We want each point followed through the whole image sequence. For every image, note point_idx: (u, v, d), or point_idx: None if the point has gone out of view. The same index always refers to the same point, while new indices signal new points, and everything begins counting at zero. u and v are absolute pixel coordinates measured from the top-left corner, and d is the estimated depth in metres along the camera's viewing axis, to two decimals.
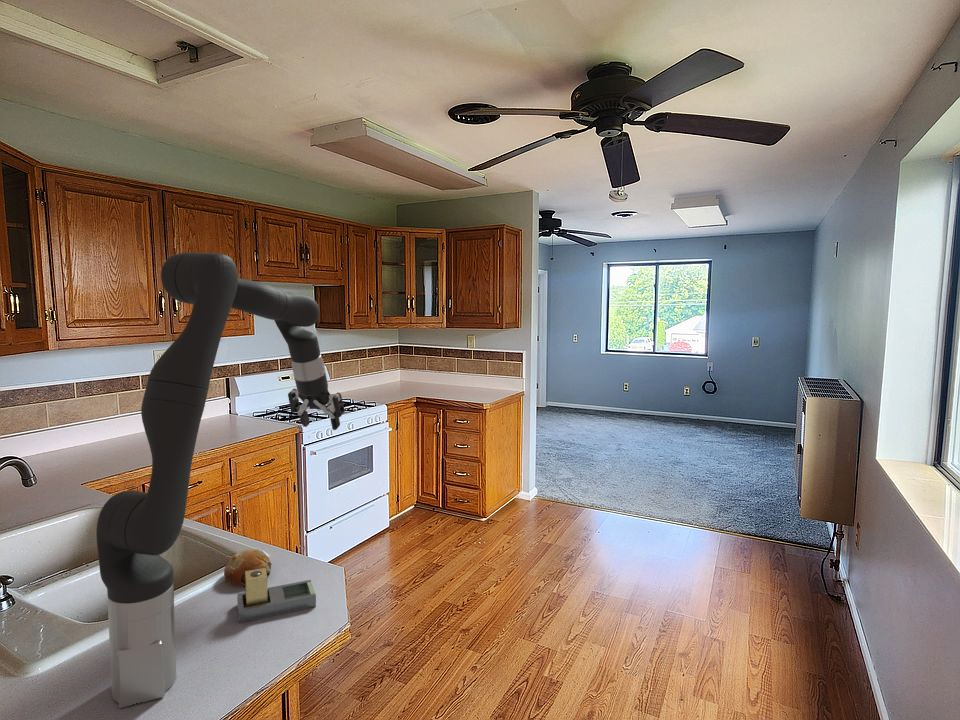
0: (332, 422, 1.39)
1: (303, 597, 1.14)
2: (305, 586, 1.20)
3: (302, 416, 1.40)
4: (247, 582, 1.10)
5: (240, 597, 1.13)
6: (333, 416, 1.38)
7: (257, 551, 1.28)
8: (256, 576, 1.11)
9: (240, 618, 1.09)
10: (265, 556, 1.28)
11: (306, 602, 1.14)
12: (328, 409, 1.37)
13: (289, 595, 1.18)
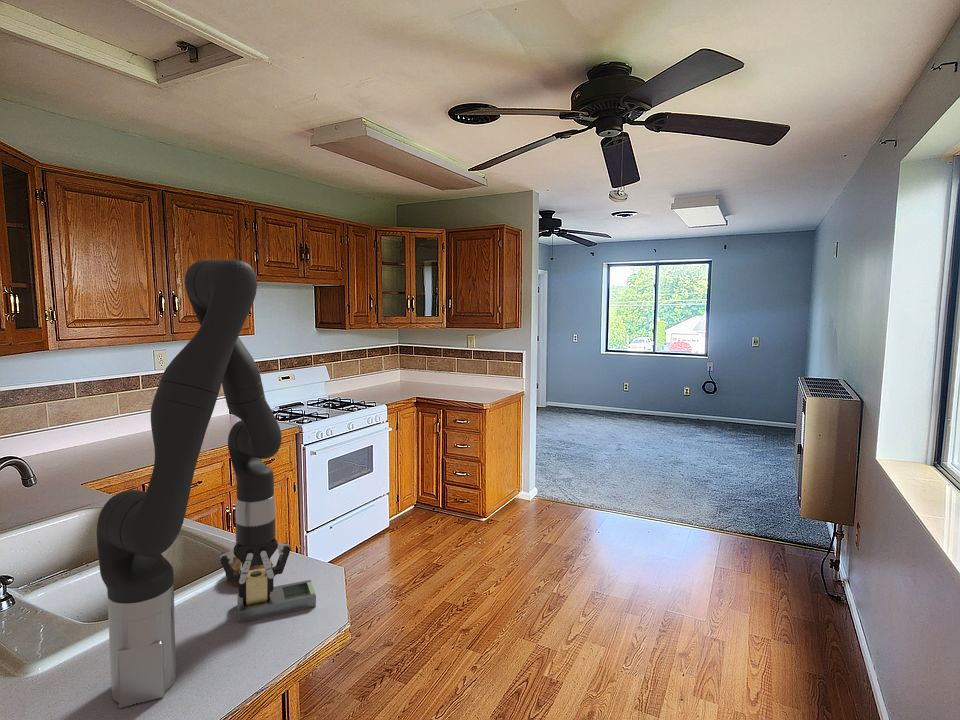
0: (268, 584, 1.13)
1: (303, 597, 1.14)
2: (305, 586, 1.20)
3: (245, 584, 1.11)
4: (247, 582, 1.10)
5: None
6: (272, 575, 1.13)
7: None
8: (256, 576, 1.11)
9: (240, 618, 1.09)
10: None
11: (306, 602, 1.14)
12: (270, 565, 1.12)
13: (289, 595, 1.18)
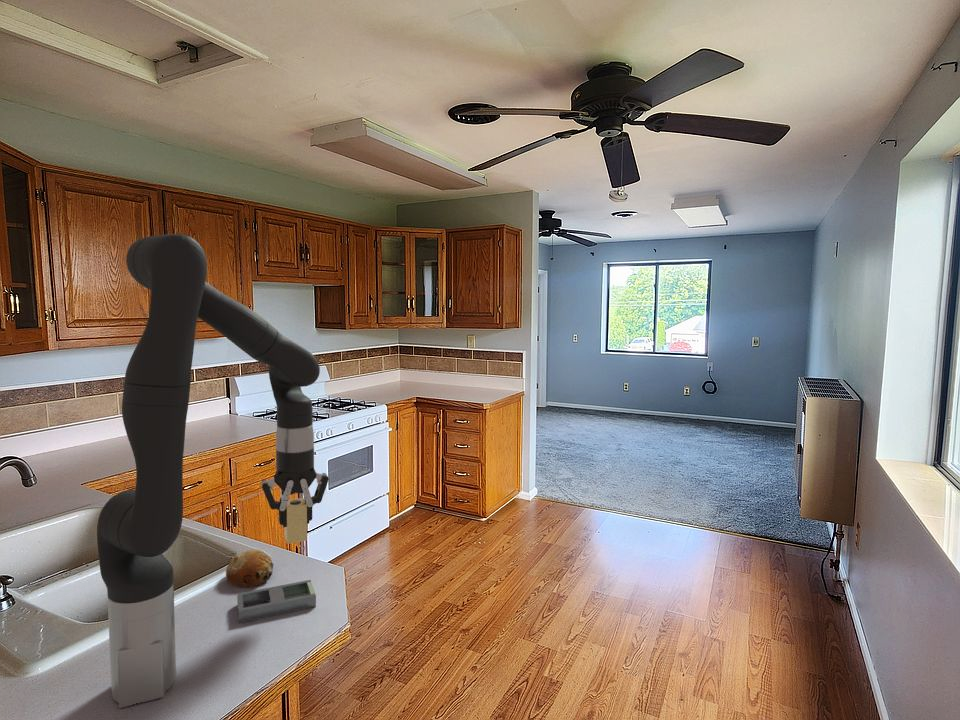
0: (307, 512, 1.15)
1: (303, 597, 1.14)
2: (305, 586, 1.20)
3: (285, 512, 1.13)
4: (287, 509, 1.12)
5: (240, 597, 1.13)
6: (311, 503, 1.15)
7: (259, 552, 1.27)
8: (295, 504, 1.14)
9: (240, 618, 1.09)
10: (267, 557, 1.27)
11: (306, 602, 1.14)
12: None
13: (289, 595, 1.18)
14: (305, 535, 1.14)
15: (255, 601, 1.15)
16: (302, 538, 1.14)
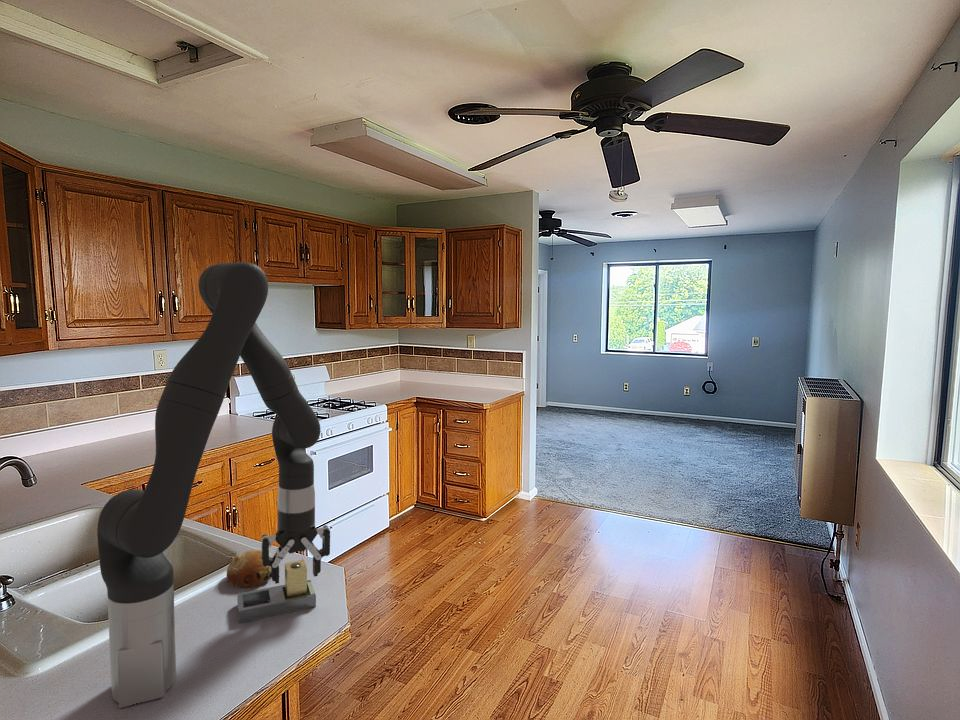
0: (316, 565, 1.17)
1: (303, 597, 1.14)
2: None
3: (277, 568, 1.13)
4: (288, 573, 1.13)
5: (240, 597, 1.13)
6: (319, 556, 1.17)
7: (260, 552, 1.27)
8: (296, 567, 1.15)
9: (240, 618, 1.09)
10: None
11: (306, 602, 1.14)
12: (315, 548, 1.16)
13: None
14: None
15: (255, 601, 1.15)
16: None
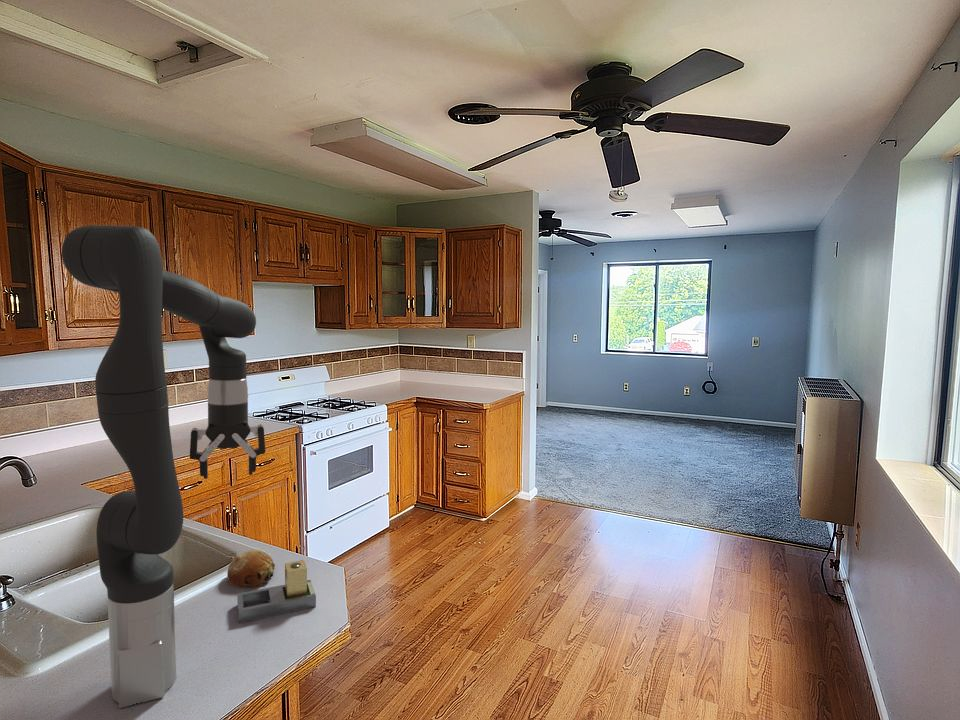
0: (250, 463, 1.14)
1: (303, 597, 1.14)
2: None
3: (205, 463, 1.10)
4: (288, 573, 1.13)
5: (240, 597, 1.13)
6: (254, 454, 1.14)
7: (260, 552, 1.27)
8: (296, 567, 1.15)
9: (240, 618, 1.09)
10: (268, 557, 1.27)
11: (306, 602, 1.14)
12: (249, 445, 1.13)
13: None
14: None
15: (255, 601, 1.15)
16: None
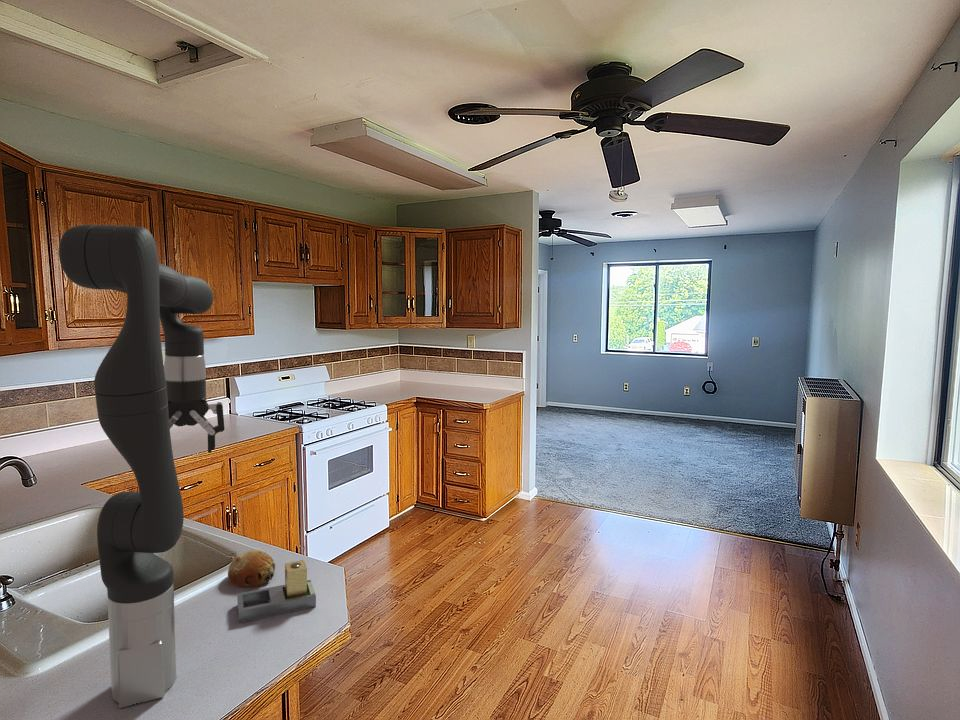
0: (209, 441, 1.13)
1: (303, 597, 1.14)
2: None
3: None
4: (288, 573, 1.13)
5: (240, 597, 1.13)
6: (213, 431, 1.13)
7: (261, 552, 1.27)
8: (296, 567, 1.15)
9: (240, 618, 1.09)
10: (269, 557, 1.27)
11: (306, 602, 1.14)
12: (207, 423, 1.13)
13: None
14: None
15: (255, 601, 1.15)
16: None
